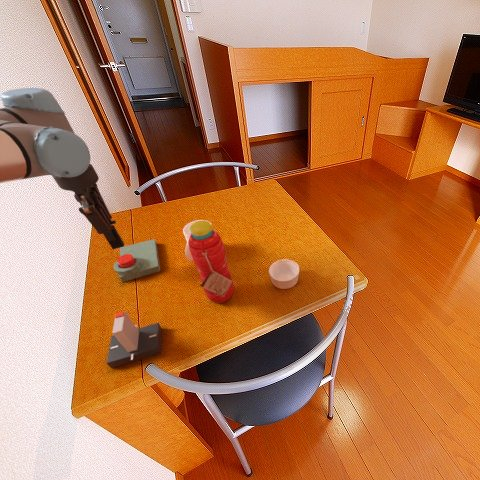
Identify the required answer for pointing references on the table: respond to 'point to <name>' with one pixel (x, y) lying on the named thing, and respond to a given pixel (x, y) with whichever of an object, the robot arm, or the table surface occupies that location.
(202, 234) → the water bottle
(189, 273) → the table surface
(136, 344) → the knob
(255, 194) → the table surface
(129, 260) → the button
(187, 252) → the mug
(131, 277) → the housing
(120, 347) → the panel
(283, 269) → the ramekin
